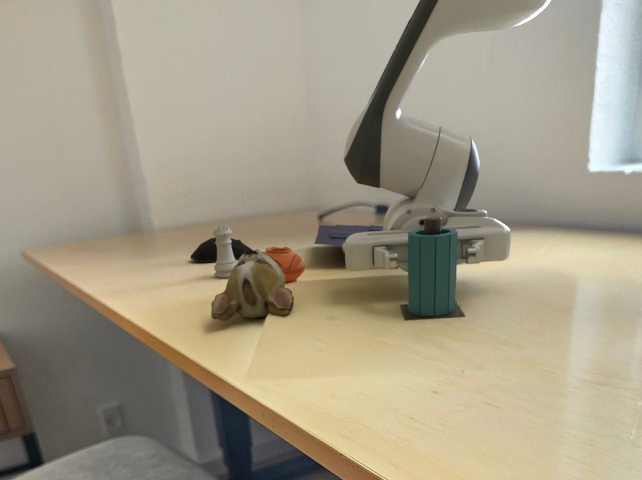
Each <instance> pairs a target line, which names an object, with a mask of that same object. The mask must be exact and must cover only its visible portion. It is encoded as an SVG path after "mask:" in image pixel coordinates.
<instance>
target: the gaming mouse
mask: <svg viewBox="0 0 642 480" xmlns="http://www.w3.org/2000/svg"><path fill="white" fill-rule="evenodd" d="M230 240H231V241H232V242H231V248H232V252H233V255H234V258H235V259H236V260H239V258H240V257H241V256H242V255H243V254H244V253H245V252H246V251H248V250H253V249H252V248H250V247H249V246H248V245H246V244H245V243H244V242H242V240H241V239H235V238H231V237H230ZM215 242H216V238H215V237H210V238H209V239H207V240H205V241H203V242H202V243H200V244H199V245H198V247H197V248H195V250H194V251H193V252H192V253H191V255H190V260H193V261H196V262H200V263H214V262H215V263H216V261H217V245H216V244H215ZM261 252H262V253H264V252H265V251H261Z"/></svg>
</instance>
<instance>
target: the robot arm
mask: <svg viewBox="0 0 642 480" xmlns="http://www.w3.org/2000/svg"><path fill="white" fill-rule="evenodd" d="M551 1H552V0H419V1H418V3H417V5H416V7H415V8H414V11H413V13H412V15H411V16H410V18H409V20H408V22H407V23H406V26H405V27H404V30H403V32H402V33H401V35H400V38H399V40H398V42H397V43H396V45H395V48H394V50H393V51H392V54H391V56H390V57H389V60H388V61H387V64H386V66H385V67H384V69H383V72H382V73H381V76H380V78H379V80H378V82H377V85H376V86H375V88H374V90H373V92H372V94H371V95H370V98H369V99H368V102H367V104H366V105H365V107H364V108H363V110H362V111H361V112H360V114H359V115H358V117H357V118H356V119H355V121H354V123H353V125H352V127H351V128H350V130H349V133H348V136H347V138H346V142H345V146H344V154H343V162H344V165H345V166H346V169H347V171H348V173H349V175H350V176H351V177H352V178H353V180H354V181H355V182H356V184H357V185H362V186H367V187H371V188H376V189H384V190H386V191H388V192H392V193H395V194H399V195H401V196H400V197H399V198H397V199H396V200H394V201H393V202H392V203H391V205H390V206H389V208H388V209H387V210H386V213H385V215H384V217H383V221H382V222H383V223H382V226H383V231H373V232H361V233H355V234H352V235H350V236H349V237H348V238H347V239H346V241H345V243H344V244H343V246H342V248H341V250H342V252H343V253H344V262H345V269H346V270H348V271H351V272H352V271H353V272H360V271H373V270H385V271H389V270H398V269H400V270H402V271H403V272H405V273H408V232H411V231H414V230H418V229H424V218H427V217H441V228H450V229H456V231H457V232H458V238H457V266H458V265H463V264H466V265H475V264H480V263H488V262H489V263H491V262H503V261H506V260H508V259H509V257H510V254H511V253H510V252H511V240H512V239H511V238H512V236H511V235H512V234H511V229H510V228H509V227H508V226H507V225H505V223H503V222H501V221H500V220H498V219H496V218H494V217H488V211H486V210H485V209H476V208H467V207H468V206H469V203H470V202H471V200H472V197H473V195H474V192H475V189H476V187H477V184H478V179H479V175H480V169H481V166H480V165H481V164H480V157H479V152H478V149H477V146H476V143H475V141H474V139H473V138H472V137H471V136H469V135H466V134H463V133H460V132H459V131H455V130H453V129H450V128H447V127H446V128H445V127H443V126H440V125H439V126H438V125H435V124H432V123H429V122H427V121H424V120H422V119H421V120H420V119H418V118H415V117H412V116H409V115H407V114H405V113H404V112H402V110H401V107H402V104H403V102H404V100H405V99H406V96H407V94H408V93H409V91H410V89H411V88H412V86H413V83H414V81H415V80H416V78H417V76H418V75H419V72H420V70H421V68H422V67H423V65H424V63H425V61H426V59H427V58H428V56H429V54H430V53H431V51H433V49H434V48H435V47H436V46H437V45H438V44H439V43H441V42H442V41H444V40H445V39H448V38H450V37H454V36H457V35H463V34H469V33H470V34H471V33H481V32H493V31H500V30H507V29H510V28H514V27H517V26H520V25H522V24H524V23H526V22H528V21H530V20H532V19H533V18H535V17H537V15H539V14H541V12H542V11H543V10H544V9H545V8H547V6H548V5H549V4H550V2H551Z"/></svg>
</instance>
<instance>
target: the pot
mask: <svg viewBox="0 0 642 480" xmlns="http://www.w3.org/2000/svg"><path fill="white" fill-rule="evenodd" d="M263 252H264V254H265V255H267V256H269V257H271V259H272V260H273V261H274V262H275V263H277V265H278V266H279V268H280V269H281V271H282V272H283V273H284V275H285V280H286V281H285V284H286V283H296V282H297V280H298V278H300V276H302V274H303V273H304V272H305V269H306V262H305V261H304V259H303V258H302V257H301V256H300V255H299V254H297V253H295V252H294V251H292V248H290V247H287V246H284V247H278V246H271V247H267V248H265V251H263Z"/></svg>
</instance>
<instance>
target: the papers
mask: <svg viewBox="0 0 642 480" xmlns="http://www.w3.org/2000/svg"><path fill="white" fill-rule="evenodd" d="M373 231H383V225H373V224H372V225H371V224H370V225H357V224H353V225H349V224H336V225H329V224H328V225H325V224H319V225H318V229H317V234H316V237H315V241H314V245H325V246H333V247H340V248H341V247H342V246H343V244H344V243H345V241H346V239H347V238H348V237H349V236H350V235H352V234H355V233H361V232H373Z"/></svg>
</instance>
